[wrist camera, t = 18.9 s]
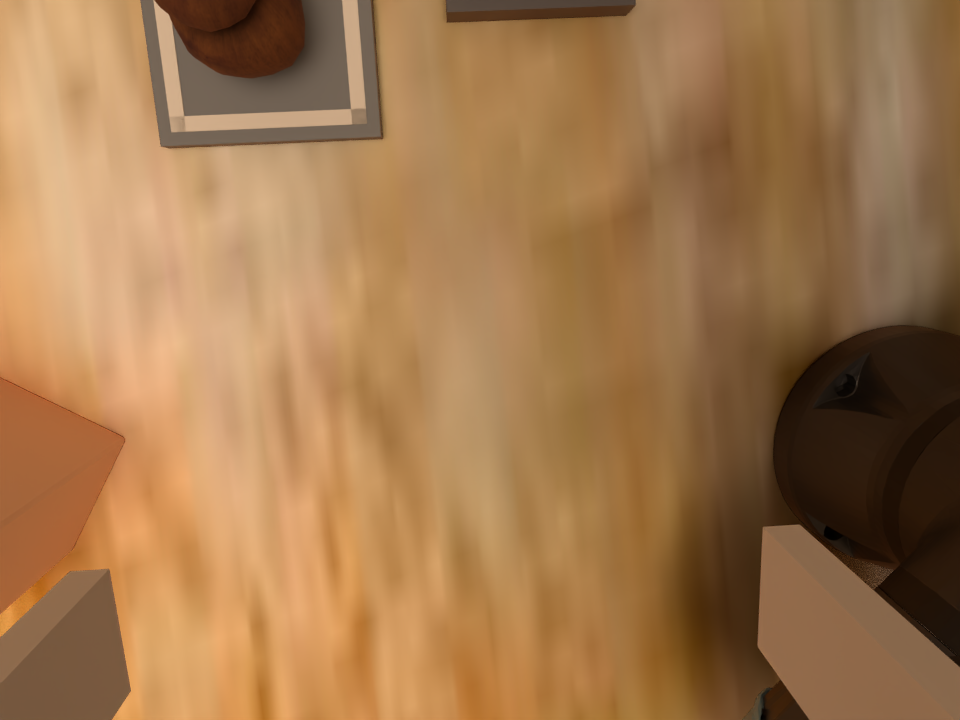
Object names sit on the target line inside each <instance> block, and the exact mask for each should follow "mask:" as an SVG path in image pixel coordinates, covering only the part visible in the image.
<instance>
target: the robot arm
mask: <svg viewBox="0 0 960 720" xmlns="http://www.w3.org/2000/svg"><path fill="white" fill-rule="evenodd" d="M774 466H775V473H776V477H777V481H778V484H779V487H780V490H781V492H782V495H783V497H784V499H785V501H786V502H787V504H788V506H789V507H790V509H791V510H792V511H793V513H794V514H795V515H796V516H797V517H798V519H799V520H800V521H801V522H802V523H803V524H805V525H806V526H807V527H808V528H809V529H810V530H811V531H812V532H814V533H815V534H816V535H817V536H818V537H819V538H821V539H822V540H823V541H824V542H826V543H827V544H828V545H830V546H831V547H833V548H835V549H836V550H838V551H840V552H842V553H844V554H846V555H848V556H850V557H853V558H856V559H859V560H862V561H865V562H868V563H872V564H875V565H878V566H881V567H885V568H888V569H891V570H894V571H893V572H892V573H891V574H890V575H889V576H888V577H887V578H886V579H885V580H884V581H883V582H882V583H881V584H880V585H878V587H876V588H875V589H874V590H872V589H871V588H870V587H869V586H868V585H867V584H866V583H865V582H864V581H862V580H861V579H860V578H859V577H858V576H857V575H856V574H855V573H853V572H852V571H851V570H850V569H849V568H848V567H847V566H846V565H844V564H843V563H842V562H841V561H840V560H839V559H838V558H837V557H836V556H834V555H833V554H832V553H831V552H830V551H829V550H828V549H827V548H825V547H824V546H823V545H822V544H821V543H820V542H819V541H818V540H816V539H815V538H814V537H813V536H812V535H811V534H810V533H809V532H808V531H806V530H805V529H804V528H803V527H802V526H801V525H800V524H799V525H784V526H768V527H763V533H762V556H761V579H760V601H759V624H758V648H759V650H760V651H761V652H762V654H763V655H764V657H765V658H766V659H767V661H768V662H769V664H770V665H771V666H772V668H773V669H774V671H775V672H776V674H777V675H778V676H779V678H780V679H781V680H780V681H779V682H778V683H777V684H776V685H775V686H774V687H773V688H766V689H765V690H763V691H762V692H761V693H760V694H759V695H758V697H757V698H756V700H755V705H754V707H753V708H752V709H751V710H750V712H749V713H748V714H747V715H746V716H745V717H744V718H743V719H742V720H960V336H958V335H954V334H951V333H947V332H943V331H938V330H934V329H930V328H926V327H919V326H891V327H885V328H879V329H875V330H871V331H868V332H865V333H862V334H860V335H857V336H855V337H852V338H850V339H848V340H846V341H844V342H843V343H841V344H839V345H837V346H836V347H834V348H833V349H831V350H830V351H829V352H827V353H826V354H825V355H823V356H822V357H821V358H820V359H819V360H817V361H816V362H815V363H814V364H813V365H812V366H811V367H810V368H809V369H808V370H807V372H806V373H805V374H804V375H803V376H802V377H801V379H800V380H799V381H798V383H797V384H796V386H795V387H794V389H793V390H792V392H791V394H790V395H789V397H788V399H787V401H786V403H785V405H784V407H783V410H782V412H781V415H780V418H779V421H778V425H777V429H776V434H775V440H774ZM891 598H892V599H891ZM897 603H898V604H899V605H898V604H897ZM904 609H905V610H906V611H905V610H904ZM911 615H912V616H913V617H914V618H913V617H912V616H911ZM917 620H918V621H919V622H920V623H921V624H920V623H919V622H918V621H917ZM923 625H924V626H925V627H926V628H927V629H928V630H929V631H928V630H927V629H926V628H925V627H924V626H923ZM931 632H932V633H933V634H934V635H935V636H936V637H935V636H934V635H933V634H932V633H931ZM939 639H940V640H941V641H942V642H943V643H944V644H943V643H942V642H941V641H940V640H939ZM947 646H948V647H949V648H950V649H951V650H950V649H949V648H948V647H947ZM954 652H955V653H956V654H957V655H958V656H957V655H956V654H955V653H954ZM130 691H131V689H130V683H129V677H128V672H127V666H126V661H125V655H124V649H123V644H122V638H121V632H120V627H119V621H118V615H117V610H116V604H115V598H114V593H113V587H112V582H111V576H110V570H109V569H101V570H85V571H70V572H69V573H68V574H67V575H66V576H65V577H64V578H62V579H61V580H60V581H59V582H58V583H57V584H56V585H55V586H54V587H53V588H52V589H51V590H50V591H49V592H48V593H47V594H46V595H45V596H44V597H42V598H41V599H40V600H39V601H38V602H37V603H36V604H35V605H34V606H33V607H32V608H31V609H30V610H29V611H28V612H27V613H26V614H25V615H24V616H23V617H21V618H20V619H19V620H18V621H17V622H16V623H15V624H14V625H13V626H12V627H11V628H10V629H9V630H8V631H7V632H6V633H5V634H4V635H3V636H1V637H0V720H112V719H113V717H114V716H115V714H116V713H117V711H118V709H119V708H120V706H121V705H122V703H123V702H124V700H125V699H126V697H127V696H128V694H129V693H130Z"/></svg>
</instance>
